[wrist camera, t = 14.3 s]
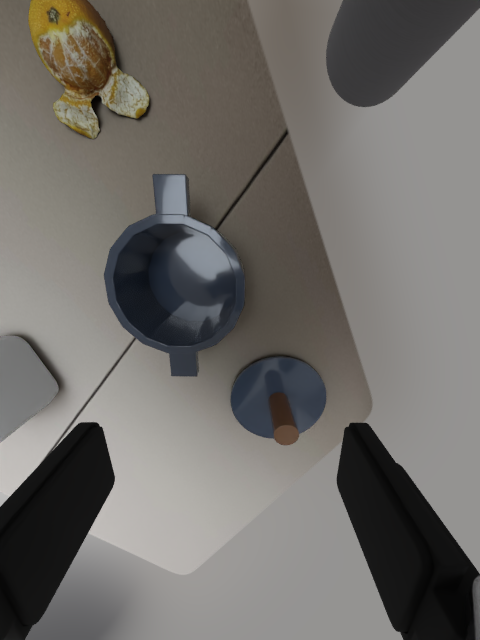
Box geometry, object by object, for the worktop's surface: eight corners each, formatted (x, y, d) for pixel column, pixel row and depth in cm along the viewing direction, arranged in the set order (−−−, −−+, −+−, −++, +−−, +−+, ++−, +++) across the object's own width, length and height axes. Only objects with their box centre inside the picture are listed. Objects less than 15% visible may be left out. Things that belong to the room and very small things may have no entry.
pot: (245, 195, 22) (246, 171, 15) (243, 346, 27) (243, 381, 20) (135, 194, 23) (85, 170, 15) (152, 345, 28) (121, 380, 20)
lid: (329, 354, 28) (354, 385, 21) (318, 433, 31) (337, 479, 25) (230, 353, 28) (227, 384, 21) (231, 431, 31) (228, 477, 25)
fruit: (74, 145, 21) (41, 125, 18) (25, 32, 19) (-24, -17, 15) (155, 113, 21) (137, 86, 17) (114, -8, 18) (84, -70, 15)
